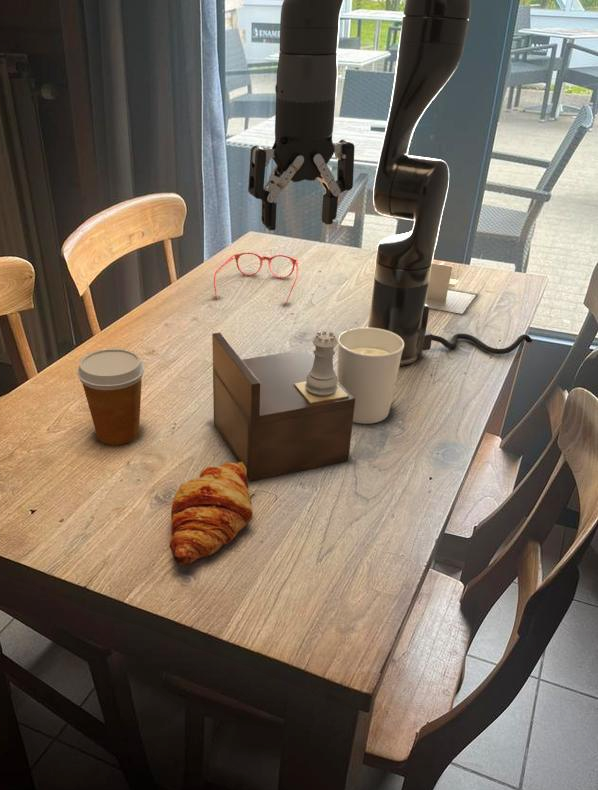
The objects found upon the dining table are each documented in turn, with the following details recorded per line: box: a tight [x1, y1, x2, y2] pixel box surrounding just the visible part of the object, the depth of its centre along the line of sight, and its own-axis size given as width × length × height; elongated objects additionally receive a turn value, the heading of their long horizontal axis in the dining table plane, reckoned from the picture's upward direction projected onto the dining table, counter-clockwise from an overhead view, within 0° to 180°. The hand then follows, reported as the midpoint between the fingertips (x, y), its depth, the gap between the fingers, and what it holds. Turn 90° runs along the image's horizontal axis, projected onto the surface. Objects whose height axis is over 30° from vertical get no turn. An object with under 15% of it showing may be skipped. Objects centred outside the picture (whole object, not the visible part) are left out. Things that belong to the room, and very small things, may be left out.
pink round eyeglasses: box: [213, 252, 299, 306], centre depth 155 cm, size 17×16×5 cm
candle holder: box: [336, 326, 404, 425], centre depth 111 cm, size 10×10×12 cm
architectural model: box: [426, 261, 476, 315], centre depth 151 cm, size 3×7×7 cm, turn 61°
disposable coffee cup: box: [76, 347, 146, 446], centre depth 105 cm, size 10×10×12 cm
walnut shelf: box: [211, 332, 355, 482], centre depth 103 cm, size 15×16×15 cm
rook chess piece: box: [305, 330, 338, 396], centre depth 96 cm, size 4×4×8 cm
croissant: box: [169, 462, 254, 565], centre depth 91 cm, size 21×10×8 cm, turn 162°
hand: (299, 226), depth 100 cm, fingers open, 8 cm apart
